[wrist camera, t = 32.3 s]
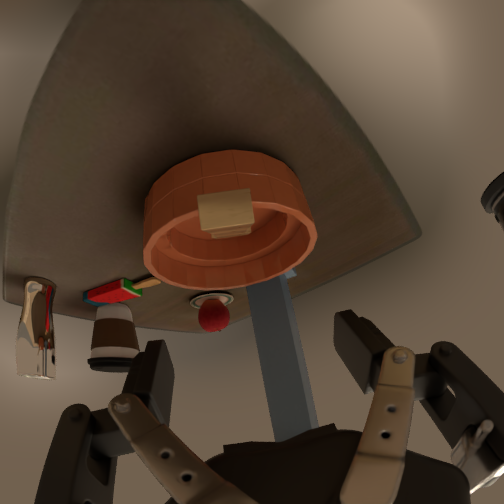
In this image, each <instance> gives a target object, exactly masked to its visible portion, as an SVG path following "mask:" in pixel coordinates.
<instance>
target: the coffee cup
mask: <svg viewBox="0 0 504 504" xmlns="http://www.w3.org/2000/svg"><path fill="white" fill-rule="evenodd" d="M91 351H92V352H91V358H90V359H88V364H90V368H91V369H92V370H96V371H103V372H129V369H130V366H131V363H132V360H133V358H134V357H135V356H136V355H137V354H138V353H139V352H140V350H139V345H138V340H137V336H136V331H135V326H134V323H133V320H132V315H131V311H130V309H129V307H128V306H127V305H124V304H121V303H111V304H107V305H103V306H99V308H98V309H97V315H96V321H95V322H94V329H93V336H92V344H91Z"/></svg>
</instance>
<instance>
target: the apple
mask: <svg viewBox="0 0 504 504" xmlns="http://www.w3.org/2000/svg"><path fill="white" fill-rule="evenodd" d="M232 301H233V297H232V296H231V295H229V294H224V293H211V294H205V295H201V296H198V297H196V298H194V299H192V300H191V302H190V304H191V305H192V306H193V307H196V308H200V309H199V314H198V319H199V323H200V325H201V327H202V328H203V329H204V330H206V331H208V332H215V331H221V329H223V328H225V327H226V326H227V325H228V323H229V319H230V315H229V311H228V309H227V307H226V306H225V305H227V304H229V303H231V302H232Z"/></svg>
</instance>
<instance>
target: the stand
mask: <svg viewBox="0 0 504 504" xmlns="http://www.w3.org/2000/svg"><path fill="white" fill-rule="evenodd" d="M294 276H297V274H296V270H295V267H293V268H292V269H290V270H289V271H287V272H285V273H283V274H281V275H279V276H276V277H274V278H272V279H269V280H267V281H263V282H260V283H256V284H253V285H249V286H246V288H247V294H248V299H249V305H250V310H251V316H252V321H253V326H254V332H255V337H256V343H257V348H258V353H259V359H260V365H261V370H262V375H263V381H264V385H265V391H266V396H267V402H268V407H269V412H270V417H271V422H272V427H273V432H274V437H275V442H282V441H285V440H287V439H290V438H292V437H294V436H296V435H298V434H301V433H303V432H305V431H307V430H310V429H314V428H318V427H319V426H318V420H317V415H316V410H315V405H314V401H313V396H312V391H311V386H310V382H309V377H308V372H307V367H306V363H305V358H304V353H303V349H302V344H301V340H300V335H299V331H298V327H297V322H296V318H295V313H294V309H293V305H292V300H291V296H290V292H289V287H288V283H287V278H291V277H294Z"/></svg>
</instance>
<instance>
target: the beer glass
mask: <svg viewBox="0 0 504 504" xmlns="http://www.w3.org/2000/svg"><path fill="white" fill-rule="evenodd" d="M55 293H56V286H55V284H54V283H52V282H51V281H49V280H47V279H44V278H39V277H28V278H26V279H25V280H24V303H23V309H22V313H21V317H20V321H19V326H18V331H17V337H16V364H17V374H18V375H21V376H25V377H30V378H36V379H45V380H55V377H56V376H55V375H56V342H55V333H54V325H53V315H52V307H53V301H54V297H55Z"/></svg>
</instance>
